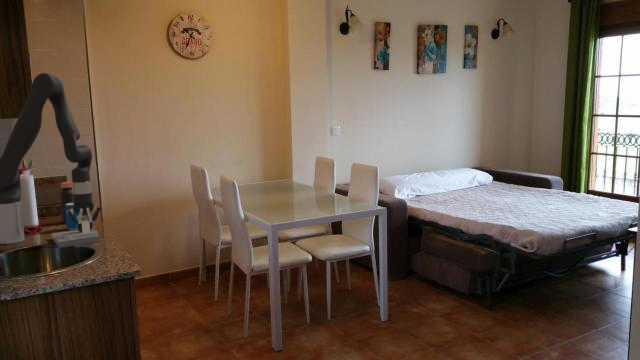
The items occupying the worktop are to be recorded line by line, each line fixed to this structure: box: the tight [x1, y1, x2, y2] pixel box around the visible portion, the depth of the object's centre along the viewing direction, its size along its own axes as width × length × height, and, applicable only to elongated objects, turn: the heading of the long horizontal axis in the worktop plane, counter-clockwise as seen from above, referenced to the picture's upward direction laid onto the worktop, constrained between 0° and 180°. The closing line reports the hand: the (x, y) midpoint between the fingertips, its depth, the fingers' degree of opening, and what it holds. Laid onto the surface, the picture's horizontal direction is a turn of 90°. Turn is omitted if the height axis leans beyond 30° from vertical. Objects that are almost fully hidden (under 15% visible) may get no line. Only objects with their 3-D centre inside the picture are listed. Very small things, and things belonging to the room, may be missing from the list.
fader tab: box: [81, 219, 90, 233], centre depth 225 cm, size 3×4×5 cm
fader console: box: [51, 228, 101, 249], centre depth 224 cm, size 16×18×3 cm
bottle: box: [59, 181, 73, 225], centre depth 257 cm, size 7×7×20 cm
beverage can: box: [65, 203, 78, 231], centre depth 244 cm, size 6×6×12 cm
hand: (85, 230), depth 225 cm, fingers closed on fader tab, 3 cm apart
